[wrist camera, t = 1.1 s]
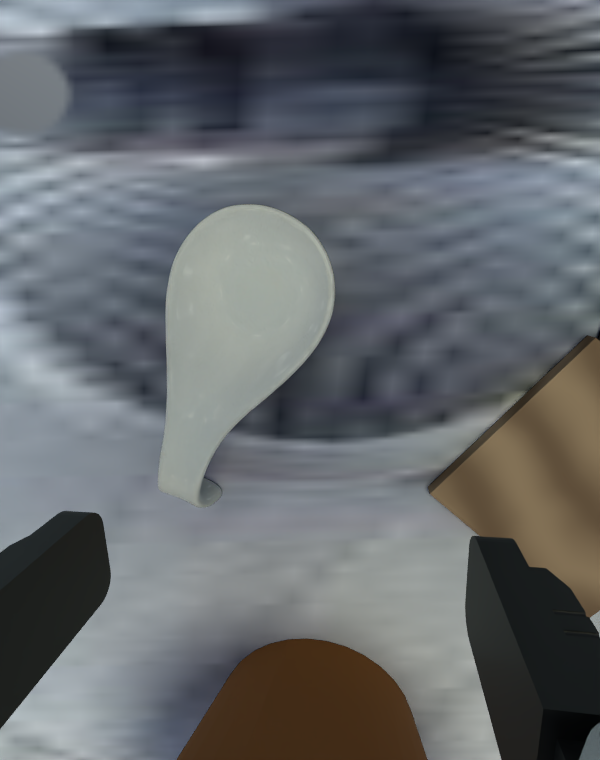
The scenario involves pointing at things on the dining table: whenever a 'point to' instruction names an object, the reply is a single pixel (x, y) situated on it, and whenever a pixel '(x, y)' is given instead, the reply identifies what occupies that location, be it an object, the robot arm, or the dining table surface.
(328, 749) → the flowerpot
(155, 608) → the dining table surface
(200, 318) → the spoon rest
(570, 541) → the walnut board
